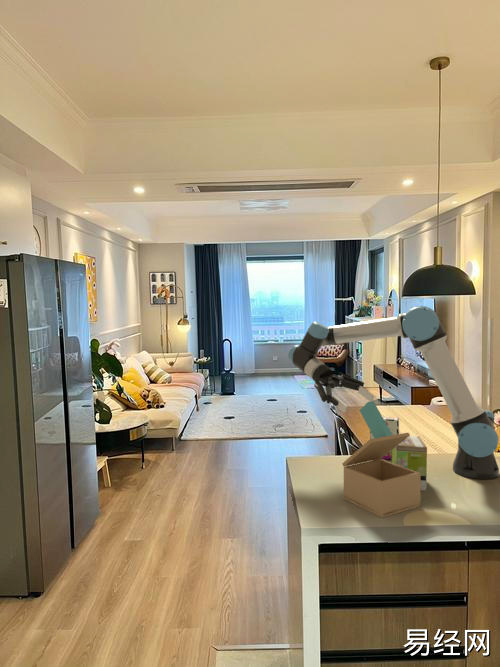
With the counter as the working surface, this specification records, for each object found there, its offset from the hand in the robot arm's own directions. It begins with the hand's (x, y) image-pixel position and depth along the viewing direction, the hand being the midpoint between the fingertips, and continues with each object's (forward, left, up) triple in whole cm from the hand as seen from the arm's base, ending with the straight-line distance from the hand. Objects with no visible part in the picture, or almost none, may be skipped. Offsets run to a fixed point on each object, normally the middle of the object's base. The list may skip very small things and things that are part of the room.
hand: (359, 404), depth 155 cm
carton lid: (-1, +17, -12) cm, 20 cm away
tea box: (-16, +1, -27) cm, 32 cm away
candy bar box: (-16, -27, -27) cm, 41 cm away
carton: (-2, +18, -27) cm, 33 cm away
